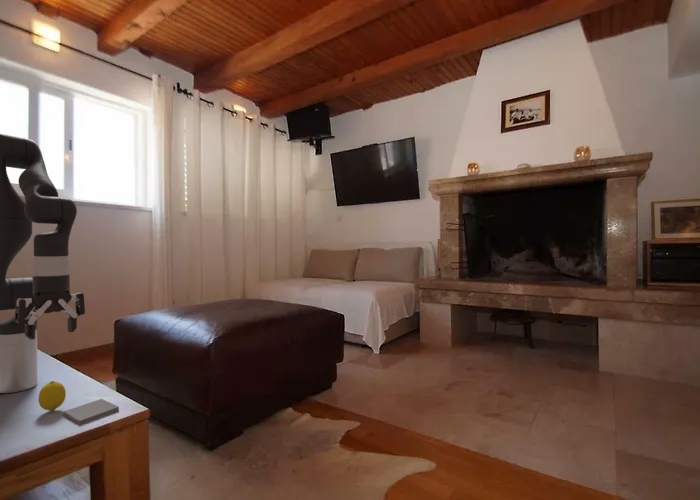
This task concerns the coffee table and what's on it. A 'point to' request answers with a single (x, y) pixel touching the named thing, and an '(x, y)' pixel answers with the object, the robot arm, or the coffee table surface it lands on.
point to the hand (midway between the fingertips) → (51, 335)
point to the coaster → (90, 411)
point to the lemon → (52, 396)
